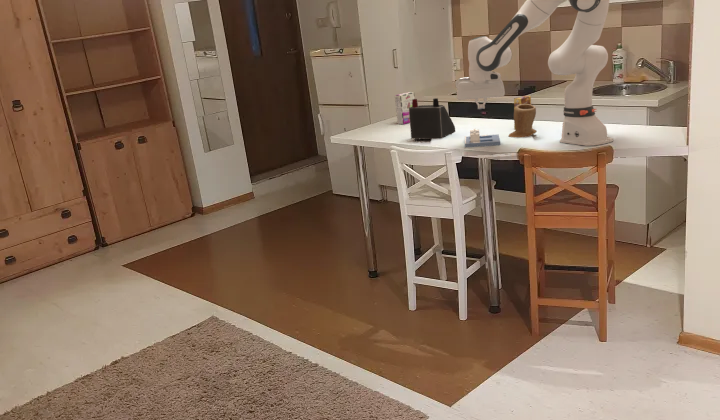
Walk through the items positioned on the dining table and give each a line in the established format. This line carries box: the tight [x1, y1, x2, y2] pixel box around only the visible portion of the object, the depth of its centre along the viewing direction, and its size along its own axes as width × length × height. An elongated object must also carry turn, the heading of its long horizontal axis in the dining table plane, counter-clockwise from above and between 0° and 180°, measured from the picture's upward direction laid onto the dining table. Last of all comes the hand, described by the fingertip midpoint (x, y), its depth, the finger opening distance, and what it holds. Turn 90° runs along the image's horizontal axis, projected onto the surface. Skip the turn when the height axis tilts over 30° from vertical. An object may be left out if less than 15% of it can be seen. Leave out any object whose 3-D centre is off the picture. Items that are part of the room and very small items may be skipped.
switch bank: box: [464, 134, 501, 148], centre depth 291 cm, size 15×16×3 cm
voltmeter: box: [409, 97, 456, 142], centre depth 317 cm, size 16×16×20 cm
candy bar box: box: [394, 91, 416, 126], centre depth 368 cm, size 11×5×16 cm, turn 132°
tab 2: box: [469, 132, 481, 143], centre depth 287 cm, size 4×3×5 cm
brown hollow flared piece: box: [507, 104, 537, 138], centre depth 298 cm, size 15×12×15 cm
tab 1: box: [469, 128, 480, 135], centre depth 295 cm, size 4×3×5 cm
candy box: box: [513, 95, 532, 131], centre depth 318 cm, size 9×4×15 cm, turn 134°
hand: (481, 108), depth 283 cm, fingers closed
